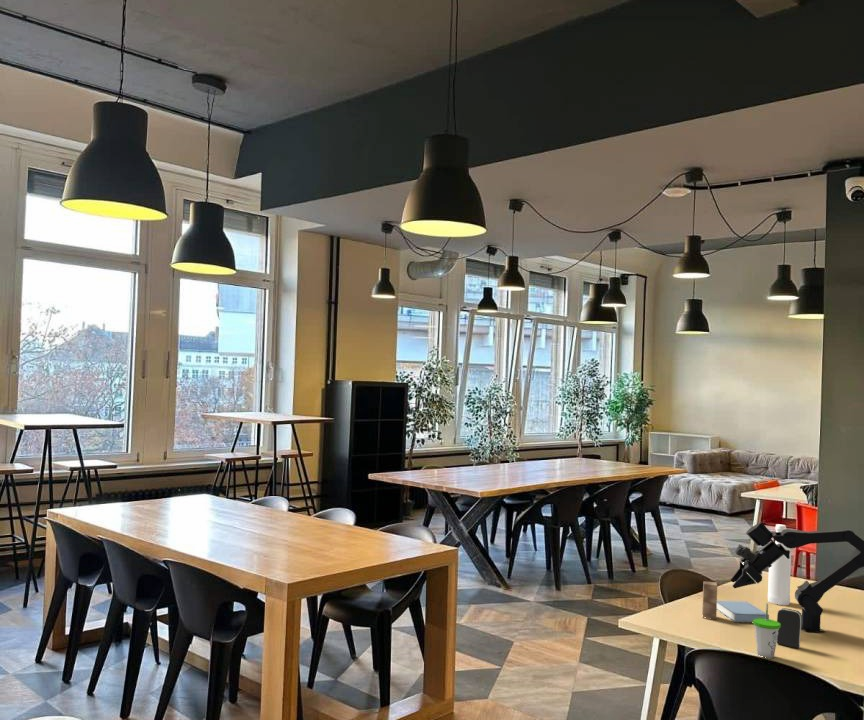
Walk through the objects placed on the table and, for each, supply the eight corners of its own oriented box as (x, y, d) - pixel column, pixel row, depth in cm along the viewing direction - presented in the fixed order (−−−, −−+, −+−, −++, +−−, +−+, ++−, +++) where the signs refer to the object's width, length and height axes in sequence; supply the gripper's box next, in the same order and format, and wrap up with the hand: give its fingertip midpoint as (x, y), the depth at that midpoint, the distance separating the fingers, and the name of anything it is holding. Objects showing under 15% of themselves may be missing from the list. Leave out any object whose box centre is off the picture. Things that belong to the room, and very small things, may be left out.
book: (768, 623, 271) (769, 614, 271) (735, 622, 271) (735, 613, 271) (746, 609, 288) (746, 601, 288) (715, 608, 287) (715, 600, 288)
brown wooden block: (715, 616, 277) (716, 582, 278) (716, 619, 273) (717, 585, 273) (702, 614, 278) (703, 581, 279) (702, 618, 274) (703, 583, 275)
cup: (770, 662, 230) (772, 611, 231) (746, 654, 237) (748, 604, 237) (784, 658, 235) (786, 608, 235) (760, 650, 241) (762, 601, 242)
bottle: (768, 604, 298) (771, 525, 299) (766, 599, 305) (768, 522, 306) (791, 606, 295) (793, 527, 297) (788, 601, 303) (790, 524, 304)
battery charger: (802, 646, 247) (803, 610, 247) (799, 649, 244) (800, 613, 244) (778, 641, 251) (780, 606, 251) (775, 644, 248) (776, 608, 248)
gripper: (747, 533, 282) (714, 560, 285) (753, 542, 264) (717, 571, 267) (770, 558, 279) (736, 585, 282) (777, 568, 261) (741, 597, 264)
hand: (732, 584), depth 274 cm, fingers open, 9 cm apart
